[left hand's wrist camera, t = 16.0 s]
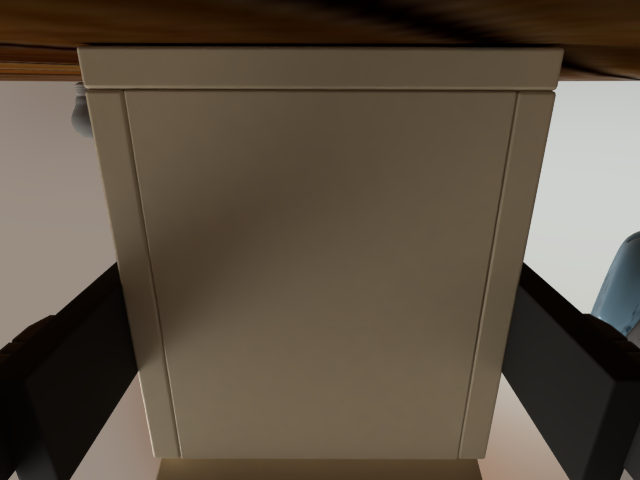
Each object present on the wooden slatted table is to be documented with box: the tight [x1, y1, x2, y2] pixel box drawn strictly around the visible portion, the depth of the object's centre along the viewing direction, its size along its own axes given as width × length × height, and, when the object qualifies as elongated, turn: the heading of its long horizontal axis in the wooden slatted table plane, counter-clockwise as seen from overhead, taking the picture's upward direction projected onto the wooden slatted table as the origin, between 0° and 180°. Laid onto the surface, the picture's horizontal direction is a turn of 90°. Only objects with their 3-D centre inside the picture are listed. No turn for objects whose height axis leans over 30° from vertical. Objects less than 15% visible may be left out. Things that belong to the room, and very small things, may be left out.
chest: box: [77, 45, 564, 459], centre depth 18 cm, size 17×10×11 cm, turn 0°
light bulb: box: [72, 82, 94, 138], centre depth 75 cm, size 6×6×10 cm
